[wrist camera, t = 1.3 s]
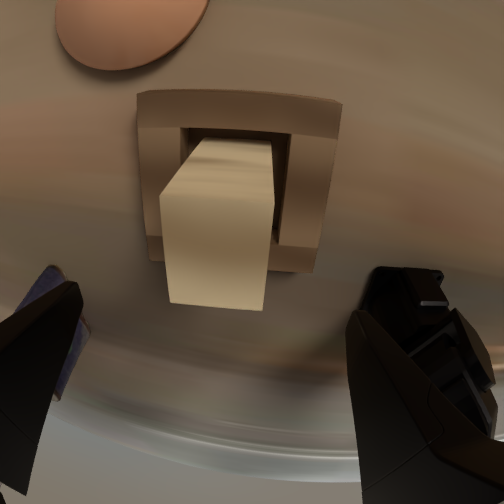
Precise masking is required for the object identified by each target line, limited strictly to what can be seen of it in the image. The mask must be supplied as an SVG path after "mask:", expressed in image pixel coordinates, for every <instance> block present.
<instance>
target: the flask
mask: <svg viewBox="0 0 504 504" xmlns="http://www.w3.org/2000/svg"><path fill="white" fill-rule="evenodd" d="M65 281H67V278H66V274H65V273H64V272H63V270H62V269H60V268H59V267H58V266H57V264H56V265H48V266H47V267H46V269H45V270H44V271H43V273H42V274H41V275H40V276H39V277H38V279H37V280H36V282H35V283H34V285H33V286H32V287H31V289H30V290H29V292H28V293H27V295H26V296H25V298H24V299H23V301H22V302H21V303H20V305H19V306H18V307H17V309H16V310H15V312H14V313H16V312H17V311H19V310H20V309H22V308H23V307H25V306H26V305H28V304H29V303H31V302H33V301H34V300H36V299H37V298H39V297H40V296H42V295H44V294H45V293H47V292H48V291H50V290H52V289H53V288H55V287H56V286H58V285H60V284H61V283H63V282H65ZM14 313H13V314H14ZM89 336H90V327H89V324H88V322H87V321H86V322H85V319H84V317H83V314H82V312H81V315H80V318H79V321H78V325H77V328H76V331H75V335H74V338H73V341H72V344H71V347H70V350H69V352H68V355H67V358H66V360H65V363H64V366H63V368H62V371H61V374H60V376H59V379H58V382H57V385H56V388H55V391H54V394H53V397H52V401H57V402H58V401H60V399H61V396H62V393H63V391H64V388H65V386H66V384H67V381H68V379H69V377H70V374H71V372H72V370H73V368H74V366H75V364H76V361H77V359H78V357H79V355H80V353H81V351H82V349H83V347H84V346H85V344H86V342H87V340H88V338H89Z"/></svg>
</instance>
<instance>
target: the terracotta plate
mask: <svg viewBox="0 0 504 504" xmlns="http://www.w3.org/2000/svg"><path fill="white" fill-rule="evenodd" d="M209 1H210V0H57V3H56V10H55V22H56V29H57V33H58V36H59V39H60V41H61V43H62V45H63V46H64V48H65V49H66V51H67V52H68V53H69V54H70V55H71V56H72V57H73V58H75V59H76V60H77V61H79V62H81V63H82V64H84V65H86V66H89V67H92V68H96V69H100V70H123V69H130V68H136V67H140V66H143V65H147V64H149V63H152V62H154V61H156V60H158V59H160V58H162V57H164V56H166V55H167V54H169V53H170V52H171V51H173V50H174V49H176V48H177V47H178V46H179V45H180V44H182V43H183V42H184V41H185V40H186V39H187V38H188V37H189V36H190V35H191V33H192V32H193V31H194V30H195V28H196V27H197V26H198V24H199V23H200V21H201V19H202V18H203V16H204V14H205V12H206V9H207V7H208V4H209Z"/></svg>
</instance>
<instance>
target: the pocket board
mask: <svg viewBox="0 0 504 504" xmlns="http://www.w3.org/2000/svg"><path fill="white" fill-rule="evenodd" d="M342 105H343V104H341V103H339V102H337V101H335V100H330V99H323V98H316V97H309V96H301V95H292V94H283V93H272V92H260V91H244V90H220V89H171V90H149V91H145V92H142V93H138V94H137V126H138V148H139V164H140V178H141V190H142V201H143V211H144V220H145V229H146V237H147V245H148V253H149V260H151V261H162V262H165V255H164V245H163V235H162V224H161V212H160V198H159V196H160V194H161V193H162V192H163V190H164V189H165V188H166V186H167V185H168V183H169V182H170V181H171V179H172V178H173V177H174V175H175V174H176V173H177V171H178V170H179V169H180V167H181V166H182V165H183V164H184V162H185V161H186V160H187V158H188V128H220V129H240V130H255V131H268V132H279V133H289V134H288V143H287V152H286V161H285V170H284V179H283V188H282V197H281V205H280V213H279V222H278V229H272V231H271V240H270V249H269V257H268V266H267V270H272V271H286V272H300V273H313V268H314V263H315V259H316V254H317V249H318V245H319V240H320V235H321V230H322V225H323V220H324V214H325V209H326V204H327V198H328V193H329V187H330V182H331V176H332V170H333V164H334V158H335V152H336V146H337V139H338V133H339V126H340V119H341V112H342Z"/></svg>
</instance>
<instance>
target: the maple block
mask: <svg viewBox="0 0 504 504" xmlns="http://www.w3.org/2000/svg"><path fill="white" fill-rule="evenodd" d="M159 198H160V212H161V224H162V235H163V245H164V255H165V264H166V273H167V281H168V289H169V297H170V303H179V304H189V305H199V306H210V307H221V308H232V309H245V310H258V311H262V308H263V300H264V291H265V283H266V275H267V266H268V257H269V249H270V240H271V231H272V222H273V213H274V204H275V202H274V184H273V167H272V151H271V141H265V140H252V139H237V138H218V137H204V138H203V139H202V141H201V142H200V143H199V144H198V146H197V147H196V148H195V149H194V151H193V152H192V153H191V155H190V156H189V157H188V158H187V160H186V161H185V162H184V164H183V165H182V166H181V167H180V169H179V170H178V171H177V173H176V174H175V175H174V177H173V178H172V179H171V181H170V182H169V183H168V185H167V186H166V188H165V189H164V190H163V192H162V193H161V194H160V196H159Z"/></svg>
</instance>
